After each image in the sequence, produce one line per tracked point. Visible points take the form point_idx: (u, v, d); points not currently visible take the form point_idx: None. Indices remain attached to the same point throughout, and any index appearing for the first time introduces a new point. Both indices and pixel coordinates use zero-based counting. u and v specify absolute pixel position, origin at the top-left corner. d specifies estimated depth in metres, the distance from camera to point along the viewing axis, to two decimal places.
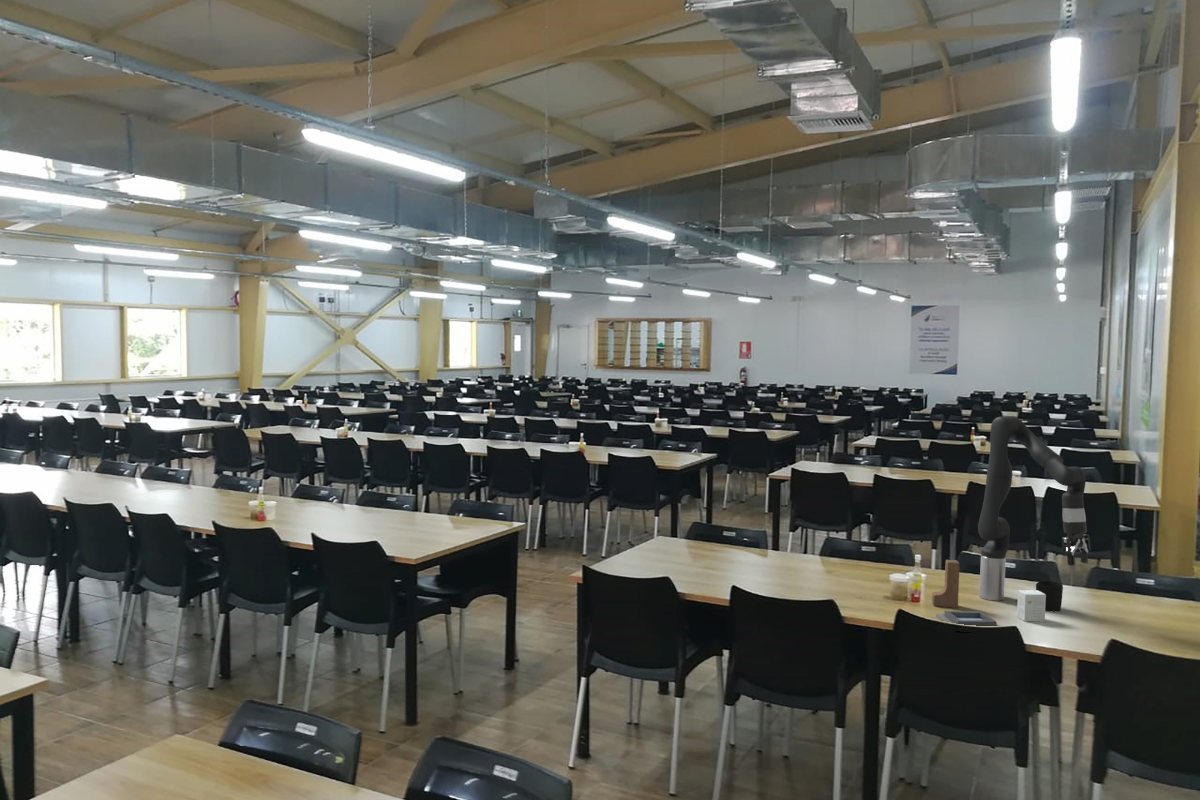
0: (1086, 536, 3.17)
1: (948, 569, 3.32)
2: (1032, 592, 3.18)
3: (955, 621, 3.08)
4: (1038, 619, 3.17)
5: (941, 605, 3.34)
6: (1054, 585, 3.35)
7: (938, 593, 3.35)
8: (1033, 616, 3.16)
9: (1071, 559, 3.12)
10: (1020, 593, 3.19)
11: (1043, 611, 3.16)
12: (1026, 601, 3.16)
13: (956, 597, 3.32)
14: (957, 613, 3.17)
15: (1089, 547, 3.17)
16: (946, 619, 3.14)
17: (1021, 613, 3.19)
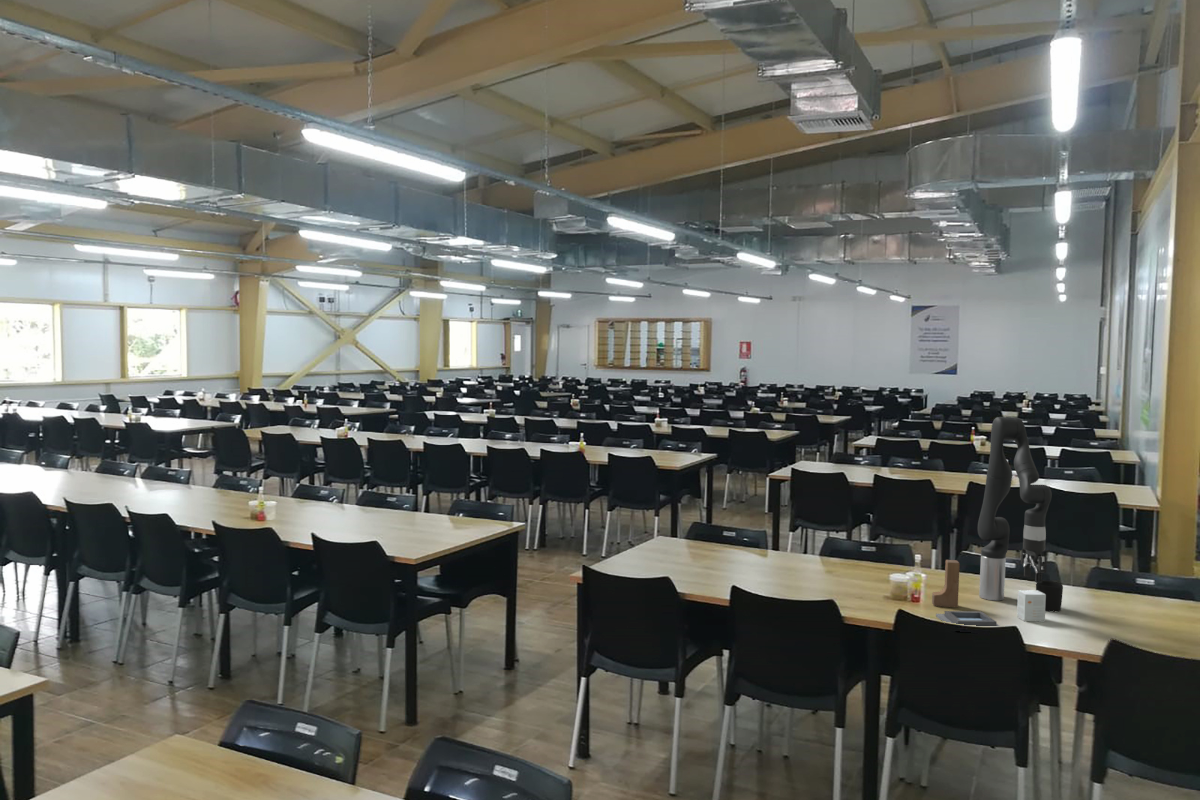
0: None
1: (948, 569, 3.32)
2: (1032, 592, 3.18)
3: (955, 621, 3.08)
4: (1038, 619, 3.17)
5: (941, 605, 3.34)
6: (1054, 585, 3.35)
7: (938, 593, 3.35)
8: (1033, 616, 3.16)
9: (1041, 577, 3.13)
10: (1020, 593, 3.19)
11: (1043, 611, 3.16)
12: (1026, 601, 3.16)
13: (956, 597, 3.32)
14: (957, 613, 3.17)
15: None
16: (946, 619, 3.14)
17: (1021, 613, 3.19)
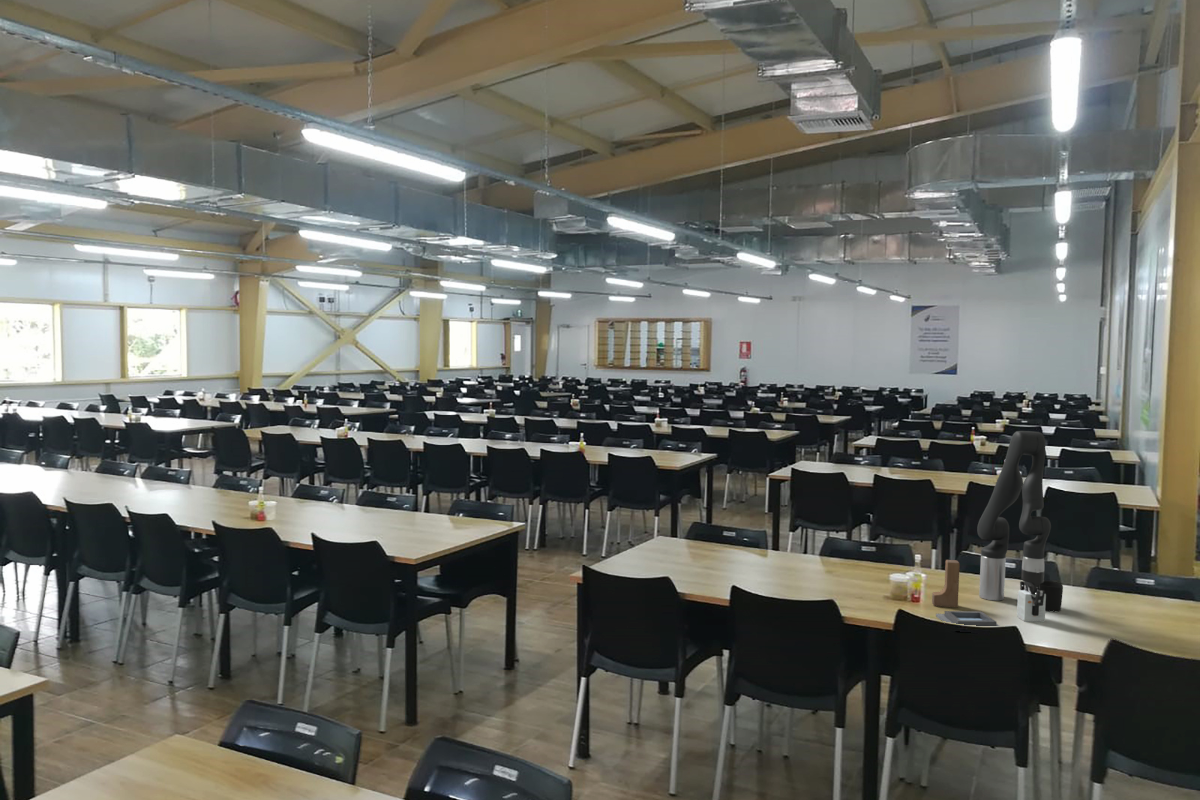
0: None
1: (948, 569, 3.32)
2: None
3: (955, 621, 3.08)
4: (1038, 618, 3.17)
5: (941, 605, 3.34)
6: (1054, 585, 3.35)
7: (938, 593, 3.35)
8: (1033, 616, 3.16)
9: None
10: (1020, 593, 3.19)
11: (1043, 611, 3.16)
12: (1026, 601, 3.16)
13: (956, 597, 3.32)
14: (957, 613, 3.17)
15: None
16: (946, 619, 3.14)
17: (1021, 613, 3.19)
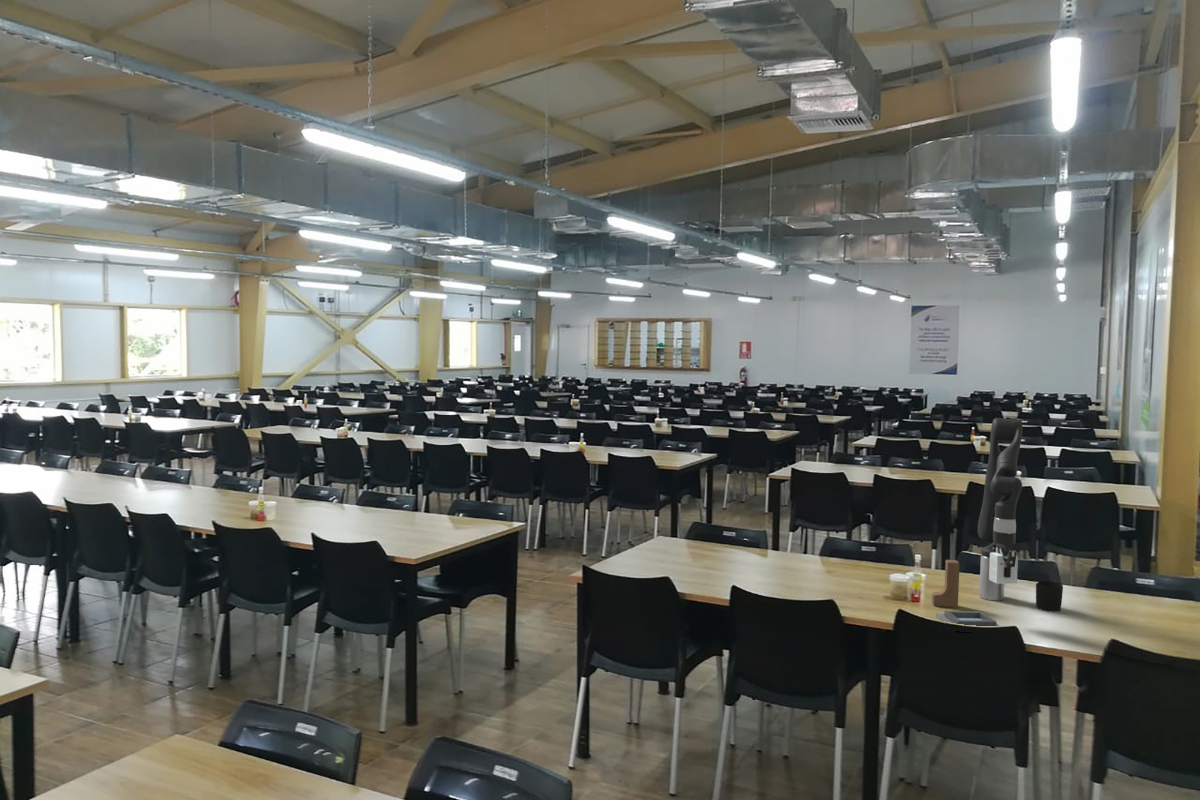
0: None
1: (948, 569, 3.32)
2: None
3: (955, 621, 3.08)
4: (1010, 581, 3.12)
5: (941, 605, 3.34)
6: (1054, 585, 3.35)
7: (938, 593, 3.35)
8: (1005, 578, 3.11)
9: None
10: (992, 555, 3.14)
11: (1015, 573, 3.12)
12: (998, 563, 3.11)
13: (956, 597, 3.32)
14: (957, 613, 3.17)
15: None
16: (946, 619, 3.14)
17: (993, 576, 3.13)
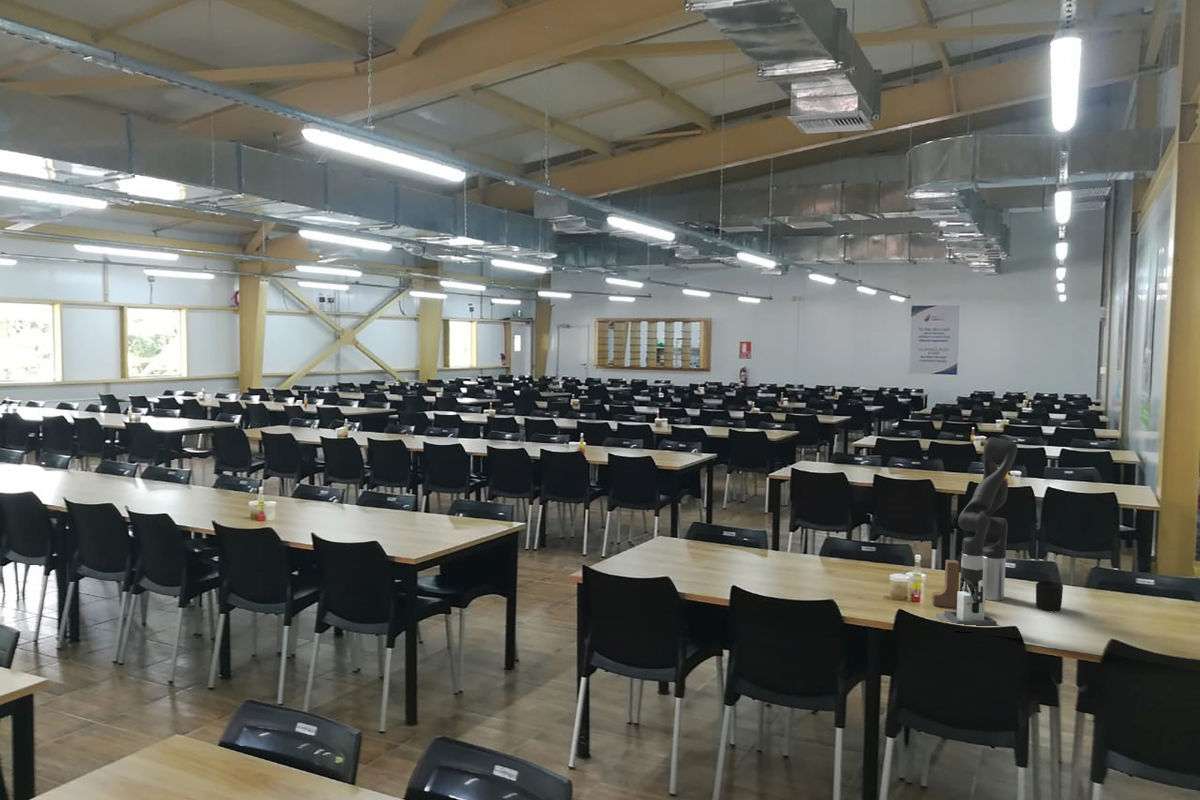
0: None
1: (948, 569, 3.32)
2: None
3: (955, 621, 3.08)
4: None
5: (941, 605, 3.34)
6: (1054, 585, 3.35)
7: (938, 593, 3.35)
8: (972, 618, 3.10)
9: None
10: (959, 594, 3.13)
11: (982, 613, 3.10)
12: (964, 602, 3.09)
13: (956, 597, 3.32)
14: None
15: None
16: (946, 619, 3.14)
17: (960, 615, 3.12)
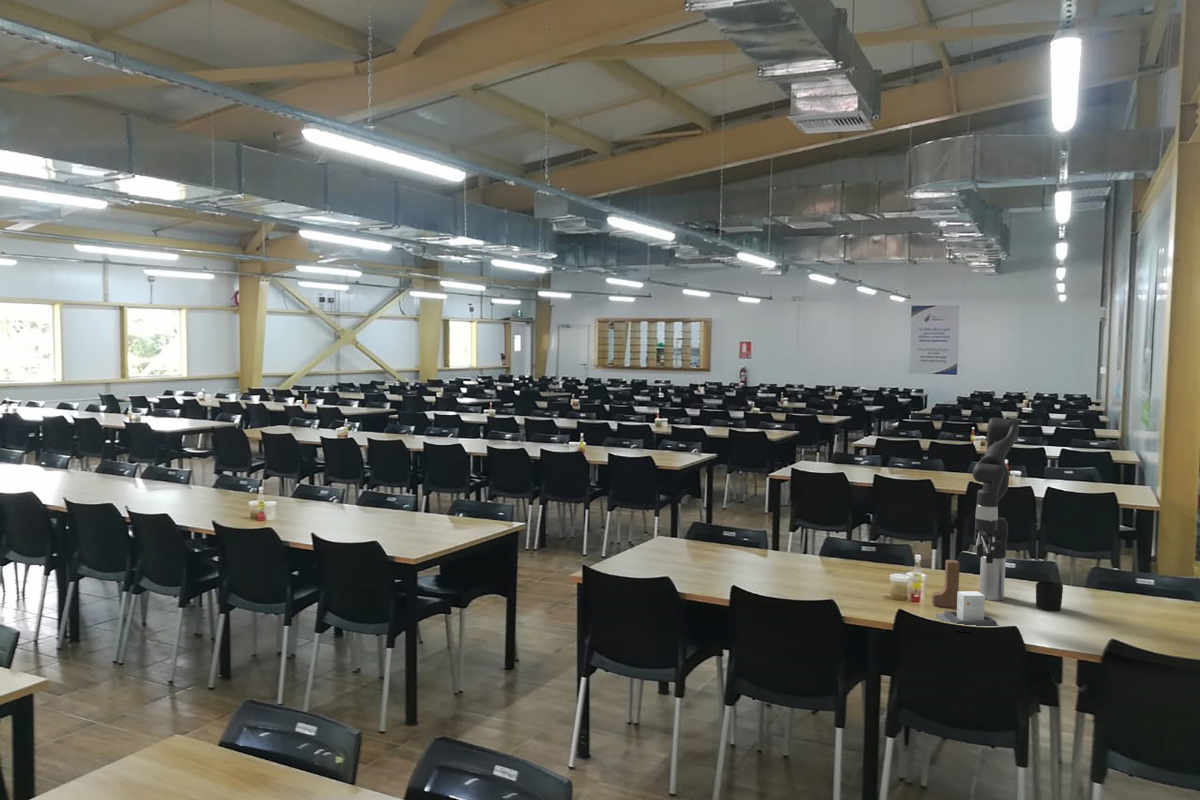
0: None
1: (948, 569, 3.32)
2: (971, 593, 3.11)
3: (955, 621, 3.08)
4: None
5: (941, 605, 3.34)
6: (1054, 585, 3.35)
7: (938, 593, 3.35)
8: (972, 618, 3.10)
9: None
10: (959, 594, 3.13)
11: (982, 613, 3.10)
12: (964, 602, 3.09)
13: (956, 597, 3.32)
14: None
15: None
16: (946, 619, 3.14)
17: (960, 615, 3.12)
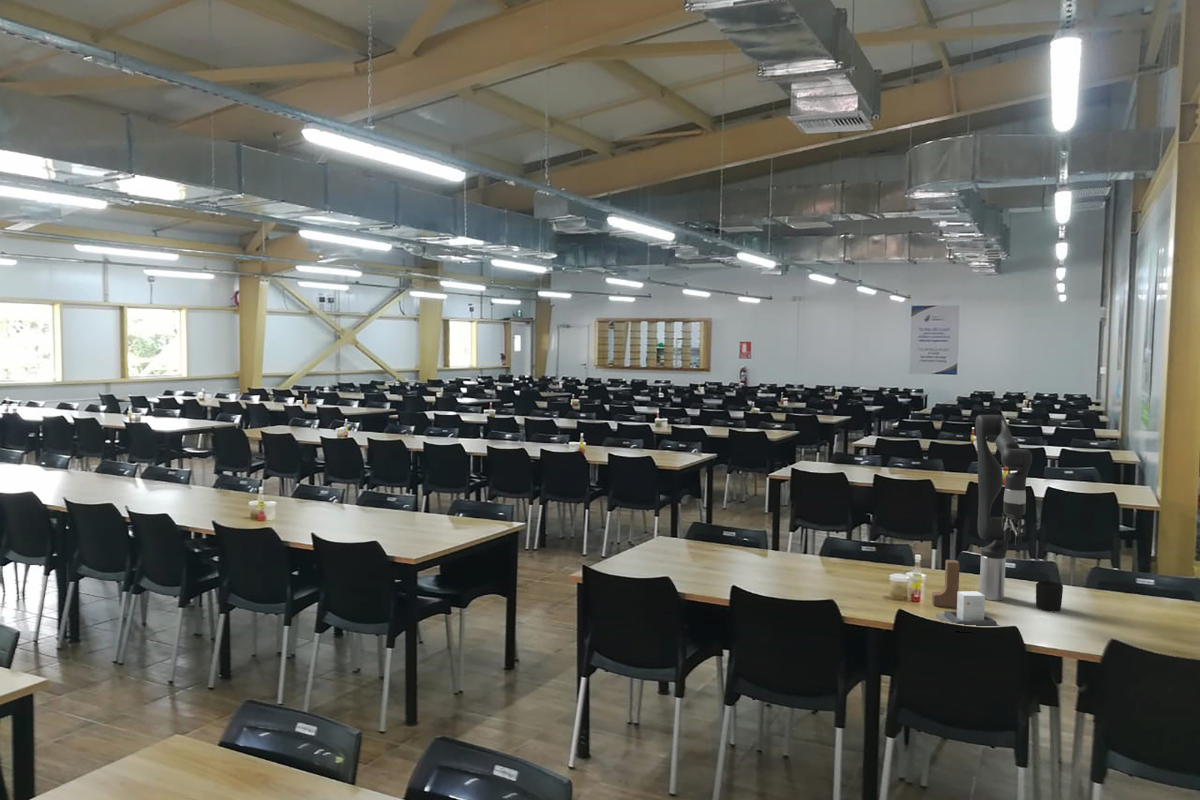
0: None
1: (948, 569, 3.32)
2: (971, 593, 3.11)
3: (955, 621, 3.08)
4: None
5: (941, 605, 3.34)
6: (1054, 585, 3.35)
7: (938, 593, 3.35)
8: (972, 618, 3.10)
9: None
10: (959, 594, 3.13)
11: (982, 613, 3.10)
12: (964, 602, 3.09)
13: (956, 597, 3.32)
14: None
15: None
16: (946, 619, 3.14)
17: (960, 615, 3.12)
